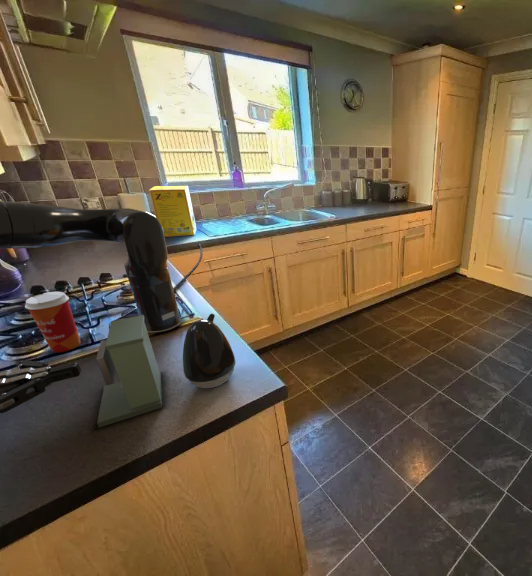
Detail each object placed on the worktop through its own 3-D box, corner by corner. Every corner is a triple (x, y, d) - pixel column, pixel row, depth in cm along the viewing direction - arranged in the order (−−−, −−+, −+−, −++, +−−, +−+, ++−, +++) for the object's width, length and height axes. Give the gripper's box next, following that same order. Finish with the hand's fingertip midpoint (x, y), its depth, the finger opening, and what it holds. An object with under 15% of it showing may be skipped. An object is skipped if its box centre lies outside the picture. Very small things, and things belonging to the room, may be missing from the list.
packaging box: (165, 230, 192) (154, 186, 182) (196, 228, 198) (187, 185, 188) (160, 237, 179) (148, 189, 168) (194, 235, 185) (184, 189, 175)
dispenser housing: (105, 389, 70) (80, 325, 64) (161, 374, 75) (143, 313, 69) (98, 427, 61) (68, 356, 55) (163, 407, 66) (142, 340, 60)
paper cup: (38, 350, 82) (15, 300, 76) (74, 335, 89) (54, 288, 83) (58, 358, 80) (35, 306, 74) (93, 341, 86) (74, 293, 81)
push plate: (110, 365, 67) (100, 340, 64) (116, 364, 67) (107, 339, 65) (106, 385, 61) (96, 359, 59) (113, 383, 62) (103, 357, 60)
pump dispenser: (244, 365, 79) (235, 309, 73) (227, 395, 70) (214, 334, 64) (201, 365, 79) (188, 309, 73) (178, 395, 69) (160, 334, 63)
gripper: (-101, 411, 46) (64, 371, 55) (-55, 362, 56) (78, 335, 65) (-72, 450, 49) (80, 406, 58) (-34, 396, 59) (90, 366, 68)
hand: (78, 368), depth 61 cm, fingers closed
